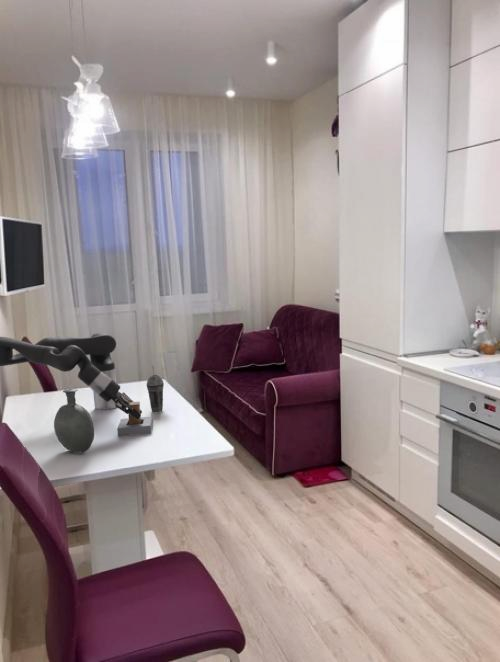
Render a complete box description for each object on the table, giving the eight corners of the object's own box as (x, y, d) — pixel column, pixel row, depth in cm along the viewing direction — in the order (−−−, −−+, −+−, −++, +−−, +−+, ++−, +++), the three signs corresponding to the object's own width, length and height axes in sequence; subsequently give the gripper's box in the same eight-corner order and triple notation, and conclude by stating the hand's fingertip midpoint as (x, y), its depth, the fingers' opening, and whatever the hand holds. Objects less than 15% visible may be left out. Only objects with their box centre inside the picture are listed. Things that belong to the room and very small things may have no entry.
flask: (88, 442, 188) (82, 382, 185) (99, 456, 174) (93, 391, 171) (54, 449, 183) (47, 387, 180) (63, 464, 168) (56, 397, 165)
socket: (117, 436, 193) (117, 428, 193) (121, 426, 205) (121, 418, 204) (151, 433, 194) (150, 425, 194) (152, 423, 206) (152, 416, 206)
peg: (129, 428, 197) (127, 405, 196) (130, 425, 201) (128, 402, 200) (140, 427, 198) (138, 404, 197) (141, 424, 202) (139, 401, 200)
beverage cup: (167, 408, 227) (164, 363, 224) (163, 413, 220) (159, 366, 217) (151, 408, 228) (147, 363, 225) (146, 413, 221) (142, 367, 218)
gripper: (100, 389, 203) (135, 417, 206) (94, 399, 189) (131, 428, 192) (113, 375, 203) (147, 403, 206) (108, 383, 189) (145, 413, 192)
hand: (139, 415), depth 199 cm, fingers closed on peg, 4 cm apart
